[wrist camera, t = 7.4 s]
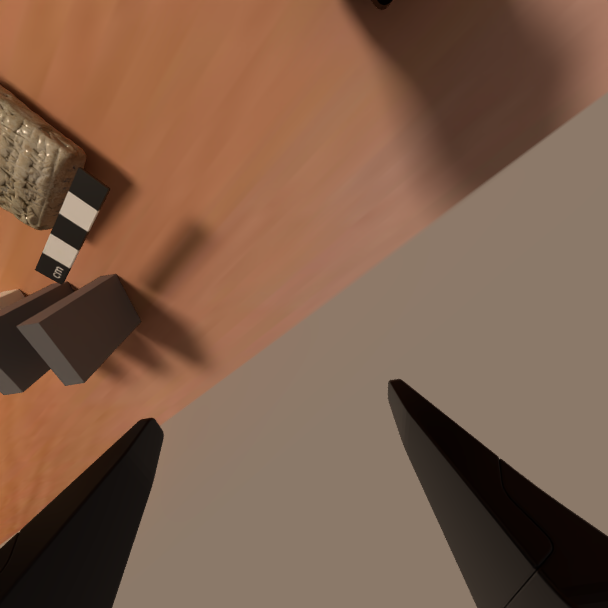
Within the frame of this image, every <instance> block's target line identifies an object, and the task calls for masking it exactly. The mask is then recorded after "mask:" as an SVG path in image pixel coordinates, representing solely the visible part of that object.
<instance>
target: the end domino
mask: <svg viewBox="0 0 608 608" xmlns="http://www.w3.org/2000/svg"><path fill="white" fill-rule="evenodd" d="M23 298H25V296H24V295H23V294H22V292H21V291H20V290H19V289H16V290H10V291H4V292H1V293H0V310H1V309H3V308H5V307H7V306H9V305H11V304H13V303H15V302H17V301H19V300H21V299H23Z"/></svg>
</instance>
